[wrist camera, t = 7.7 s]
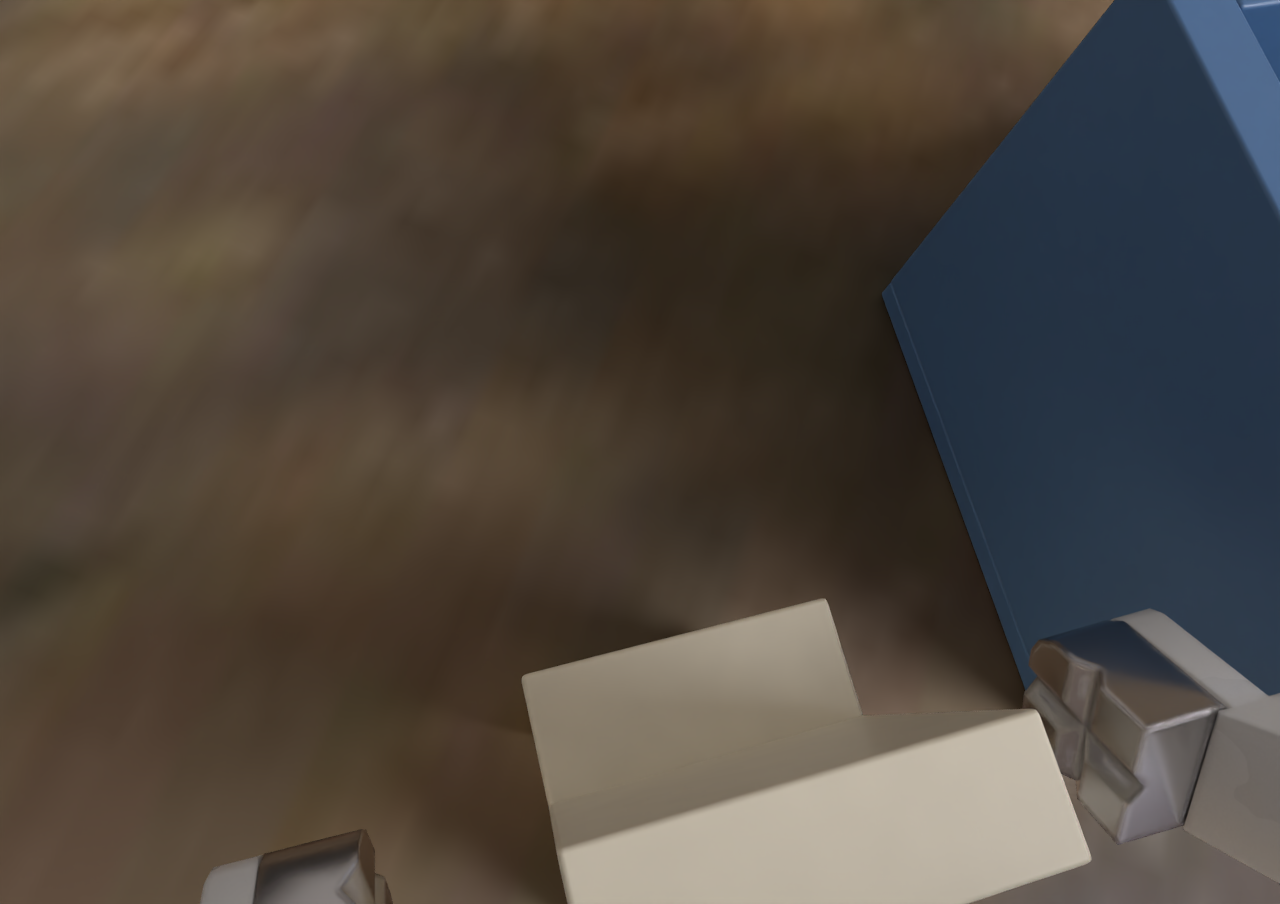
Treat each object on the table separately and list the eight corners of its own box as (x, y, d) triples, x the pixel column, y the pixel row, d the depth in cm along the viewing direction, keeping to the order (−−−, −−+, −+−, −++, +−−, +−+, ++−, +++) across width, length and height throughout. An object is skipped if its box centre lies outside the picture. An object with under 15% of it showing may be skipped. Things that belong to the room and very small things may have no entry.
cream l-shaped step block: (575, 926, 16) (649, 1287, 6) (525, 695, 17) (513, 644, 7) (779, 863, 17) (1174, 1080, 6) (719, 645, 18) (975, 529, 8)
